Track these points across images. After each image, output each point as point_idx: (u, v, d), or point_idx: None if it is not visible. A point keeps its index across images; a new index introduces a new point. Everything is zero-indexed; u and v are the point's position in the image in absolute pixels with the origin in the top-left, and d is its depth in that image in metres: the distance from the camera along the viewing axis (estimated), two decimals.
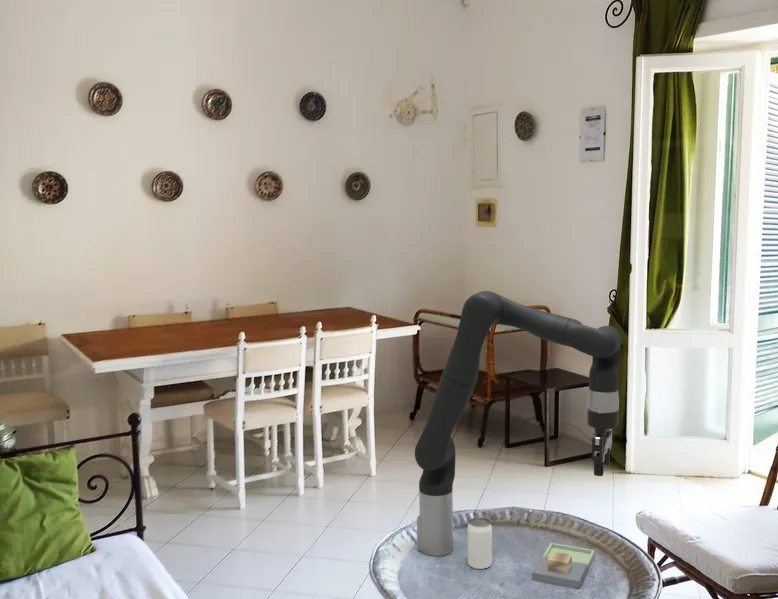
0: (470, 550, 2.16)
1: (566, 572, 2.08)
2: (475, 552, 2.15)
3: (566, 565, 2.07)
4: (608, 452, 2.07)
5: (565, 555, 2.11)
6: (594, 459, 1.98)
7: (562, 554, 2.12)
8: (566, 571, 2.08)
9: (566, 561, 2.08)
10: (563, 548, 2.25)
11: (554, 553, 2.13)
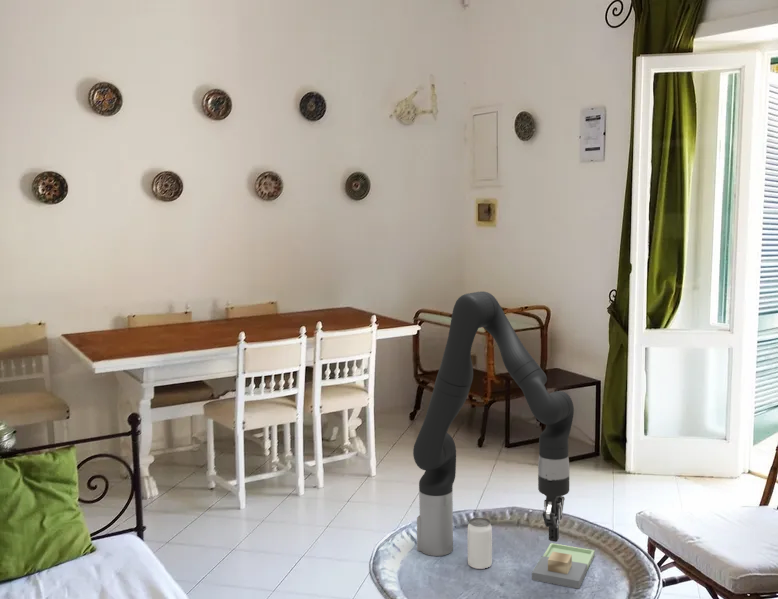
0: (470, 550, 2.16)
1: (566, 572, 2.08)
2: (475, 552, 2.15)
3: (566, 565, 2.07)
4: None
5: (565, 555, 2.11)
6: (548, 525, 1.99)
7: (562, 554, 2.12)
8: (566, 571, 2.08)
9: (566, 561, 2.08)
10: (563, 548, 2.25)
11: (554, 553, 2.13)
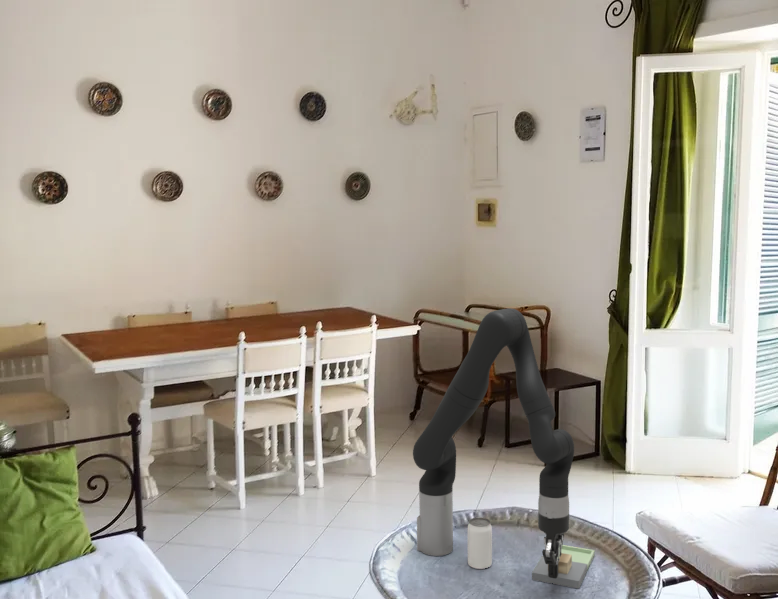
0: (470, 550, 2.16)
1: (566, 572, 2.08)
2: (475, 552, 2.15)
3: (566, 565, 2.07)
4: None
5: (565, 555, 2.11)
6: (548, 563, 2.01)
7: (562, 554, 2.12)
8: (566, 571, 2.08)
9: (566, 561, 2.08)
10: (563, 548, 2.25)
11: None
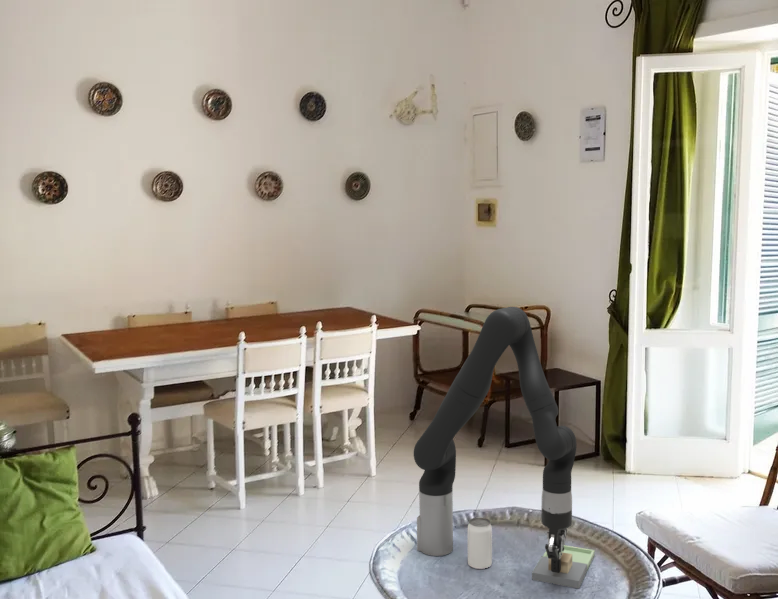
0: (470, 550, 2.16)
1: (566, 571, 2.08)
2: (475, 552, 2.15)
3: (566, 564, 2.08)
4: (559, 559, 2.06)
5: (566, 554, 2.12)
6: (550, 557, 2.04)
7: (563, 553, 2.12)
8: (566, 570, 2.08)
9: (566, 560, 2.08)
10: None
11: None
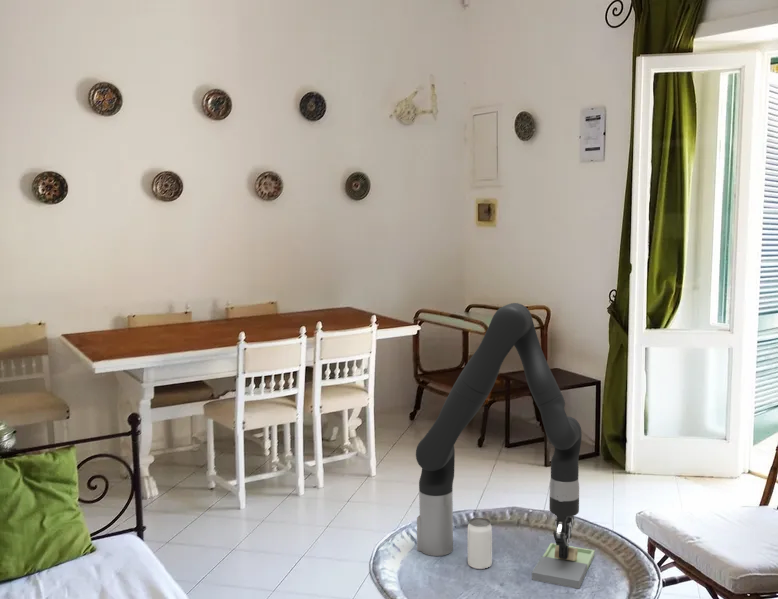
0: (470, 550, 2.16)
1: (572, 559, 2.14)
2: (475, 552, 2.15)
3: (573, 551, 2.14)
4: None
5: None
6: (558, 544, 2.11)
7: None
8: (572, 558, 2.14)
9: (573, 548, 2.15)
10: None
11: None
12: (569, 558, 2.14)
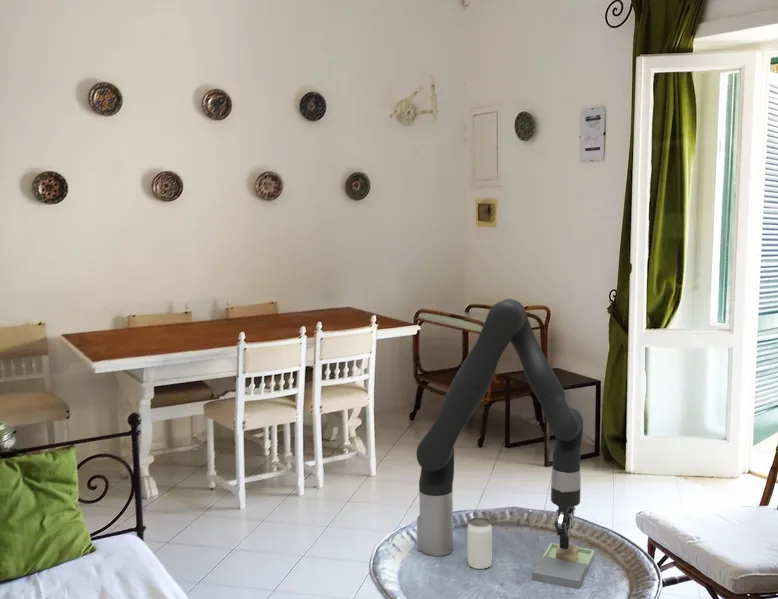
0: (470, 550, 2.16)
1: (573, 560, 2.15)
2: (475, 552, 2.15)
3: (574, 553, 2.15)
4: (568, 536, 2.15)
5: (572, 546, 2.19)
6: (559, 534, 2.12)
7: (569, 545, 2.20)
8: (573, 559, 2.15)
9: (574, 550, 2.16)
10: None
11: None
12: (570, 560, 2.16)
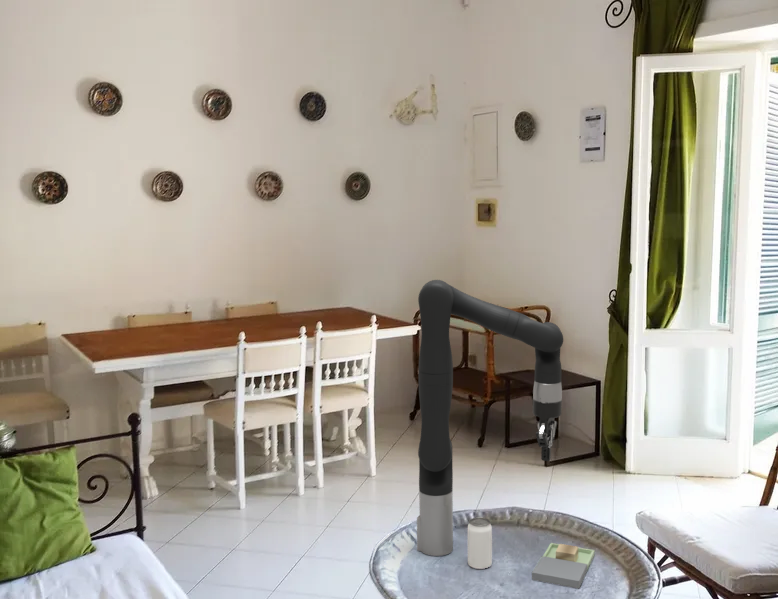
0: (470, 550, 2.16)
1: None
2: (475, 552, 2.15)
3: (573, 556, 2.15)
4: (549, 448, 2.20)
5: (572, 547, 2.19)
6: (541, 445, 2.17)
7: (569, 546, 2.20)
8: None
9: (573, 552, 2.16)
10: None
11: (561, 545, 2.20)
12: None
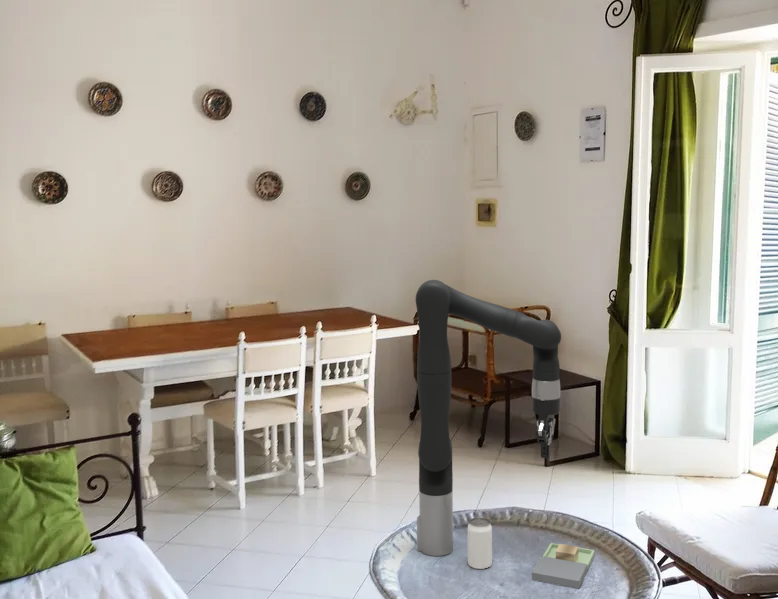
0: (470, 550, 2.16)
1: None
2: (475, 552, 2.15)
3: (573, 556, 2.15)
4: None
5: (572, 547, 2.19)
6: (540, 442, 2.18)
7: (569, 546, 2.20)
8: None
9: (573, 552, 2.16)
10: None
11: (561, 545, 2.20)
12: None
